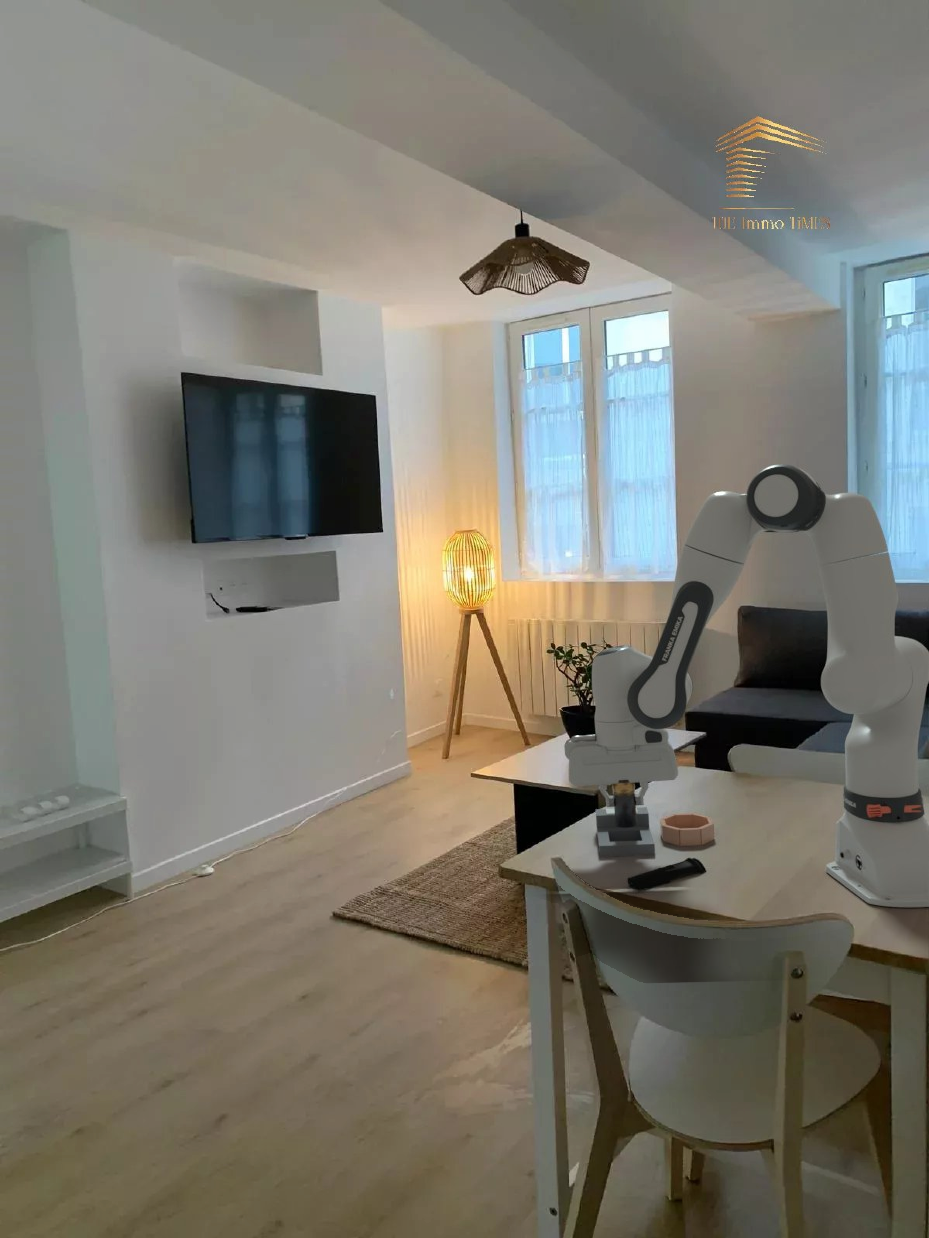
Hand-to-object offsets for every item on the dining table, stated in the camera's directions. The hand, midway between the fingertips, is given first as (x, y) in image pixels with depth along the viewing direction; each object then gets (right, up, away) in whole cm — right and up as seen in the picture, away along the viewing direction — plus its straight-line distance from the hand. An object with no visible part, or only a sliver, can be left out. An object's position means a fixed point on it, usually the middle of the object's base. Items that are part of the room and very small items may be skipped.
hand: (625, 805), depth 176 cm
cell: (0, -4, 0) cm, 4 cm away
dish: (+13, -7, +4) cm, 15 cm away
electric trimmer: (+5, -10, -16) cm, 19 cm away
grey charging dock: (+1, -8, +3) cm, 9 cm away
